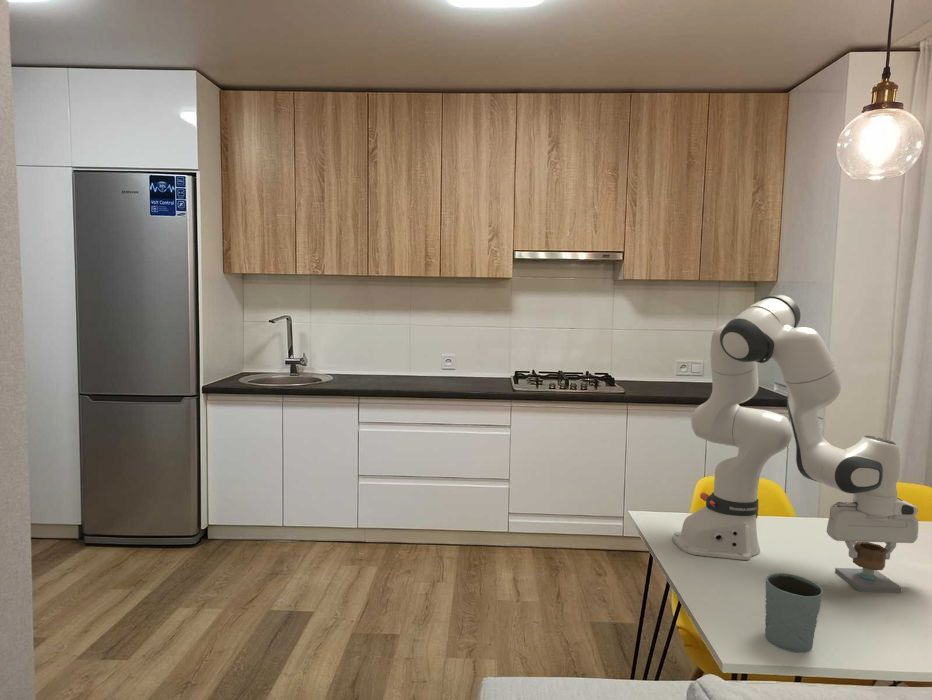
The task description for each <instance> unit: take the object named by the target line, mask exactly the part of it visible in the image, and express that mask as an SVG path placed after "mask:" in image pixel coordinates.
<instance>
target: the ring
mask: <svg viewBox="0 0 932 700" xmlns="http://www.w3.org/2000/svg"><path fill="white" fill-rule="evenodd" d="M853 546H854V549H855V550H856V551H858V552H859V555H858V556H859V558H852V563H854V564H855V565H857V566H858V567H859V568H866V569H869V570H877V571H883V570H884V569H885V567H886V560H887V559H886V549H885V547H884V546H882V545H880V544H877V543H875V542H859V541H856V545H853Z"/></svg>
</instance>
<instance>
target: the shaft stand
mask: <svg viewBox="0 0 932 700" xmlns="http://www.w3.org/2000/svg"><path fill="white" fill-rule="evenodd" d="M834 573H835V574H836V575H837V576H839V577H840V578H842V579H843V580H844V581H845V582H847V583H848V584H849V585H851V586H852V587H853V588H854V589H856V590H857V591H858V592H871V593H873V592H874V593H877V592H879V593H902V590H903V587H902V586H900V585H899V584H897V583H896V582H895V581H893V580H892V579H890V578H889V577H887V576H886V575H885V574H883V573H881V572H880V570H869V569H866V568H863V567H861V568H856V567H854V568H853V567H852V568H851V567H849V568H848V567H845V568H844V567H835V570H834Z"/></svg>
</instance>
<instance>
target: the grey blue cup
mask: <svg viewBox="0 0 932 700" xmlns="http://www.w3.org/2000/svg"><path fill="white" fill-rule="evenodd" d="M823 595H824V591H823V588H822V586H820V585H819V584H818V583H817V582H815V581H812V580H810V579H808V578H806V577H802V576H799V575H795V574H791V573H786V572H785V573H784V572H775V573H770V574H768V575H767V576H766V577H765V601H764V602H765V616H764V617H765V619H764V625H765V627H764V636H765V639H766V641H767V642H769V643H770V644H771V645H772V646H774V647H776V648H777V649H781V650H783V651H786V652H789V653H798V654H799V653H801V654H802V653H808V652H810V651H811V650H812V648H813V644H814V638H815V633H816V628H817V623H818V615H819V613H820V609H821V604H822V600H823Z"/></svg>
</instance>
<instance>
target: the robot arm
mask: <svg viewBox="0 0 932 700" xmlns="http://www.w3.org/2000/svg"><path fill="white" fill-rule="evenodd" d="M801 316H802V315H801V310H800V308H799V306H798V304H797V303H796V302H795V300H793V299H792V297H789V296H787V295H784V294H779V293H778V294H771V295H769V296H766V297H763V298H761V299H760V300H758V301H757V302H755V303H752V305H750V306H748V307H746V308H745V309H743V311H742V312H741V313H739V314H737V316H736V317H734V318H733V319H731V320H730V321H728V322H727V323H726V324H723V325H721V326H719V327H717V328H716V329H715V330H714V332H713V333H712V335H711V341H710V355H709V356H710V368H711V369H710V370H711V379H712V380H711V381H712V383H711V385H712V387H711V388H712V391H711V394H710V397H708V399H707V400H706V401H705V402H703V403H701V404H700V405H698V406H697V407H696V408H695V410H694V411H693V413H692V415H691V419H690V422H691V423H690V424H691V425H690V426H691V429H692V431H693V433H694V434H695V436H696V437H697V438H700V439H703V440H704V441H708V442H710V443H713V444H719V445H724V446H730V447H735V448H738V453H737V456H733V457H729V458H727V459H726V458H725V459H724V460H722V461H720V462H719V463H718V464H717V465H716V467H715V468H714V480H713V492H712V493H711V494H708V493H706V492H705V491H703V492H701V493H700V495H699V497H700V499H701V500H702V501H704V502H705V505H704V506H703V507H701V508H700V509H698V510H696V511H695V512H693V513H690V515H688V516H687V517H685V519H684V521H683V523H682V528H681V531H675V532H674V533H673V534H672V540H673V542H674V543H675V545H676V546H677V547H678V548H679V549H680V550H681V551H683V552H685V553H687V554H690V555H694V556H703V557H714V558H721V559H732V560H740V561H741V560H742V561H743V560H744V561H748V560H750V559H751V558H752V557H753V556H756V555H758V554H759V553H760V551H761V548H760V544H759V541H758V533H757V532H758V530H757V519H758V515H759V498H758V492H759V491H758V490H759V483H760V477H761V473H762V470H763V468H764V466H765V464H766V463H767V462H768V461H769V460H770V459H771V458H772V457H773V456H775V455H776V454H778V453H780V452H782V451H784V450H785V449H787V447H788V446H789V444H790V443H791V441H792V439H793V435H794V440H795V447H796V455H795V456H796V457H795V461H796V466H797V469H798V471H799V473H800V474H801V475H802V476H803V477H804V478H806V479H808V480H811V481H814V482H818V483H821V484H823V485H825V486H827V487H830V488H833V489H835V490H838V491H840V492H842V493H846V494H853V495H852V501H849V502H847V501H846V502H844V501H837V502H836V503H834V504H832V505H831V506H830V509H829V517H828V521H827V527H826V533H827V536H829V537H830V538H831V539H832V540H835V541H836V542H844V543H845V545H846V547H847V550H848V557H849V558H850V559H853V558H859V556H858V555H859V552H858V551H856V550H855V549H854V545H856V542H870V543H885V546H884V548H885V549H886V559H885V560H886V561H887V560H889V561H890V558H891V554H892V552H894V550H895V549H896V547H897V544H898V543H900V544H914V543H915V542H916V541H917V539H918V537H919V536H918V535H919V519H918V517H917V515H918V512H919V508H918V507H917V506H915V505H914V504H912V503H910V502H909V501H906V500H903V499H901V498H898V490H897V489H898V488H897V483H898V480H899V478H900V471H901V453H900V448H899V445H897V444H896V442H893V441H892V440H889V439H886V438H882V437H878V436H874V435H863V436H861V439H860V440H859V441H857V443H856V444H853V445H852V446H849V447H847V448H844V449H843V448H840V447H837V446H835V445H832V444H831V443H830V442H828V441H827V440H826V439H825V438H824V436H823V433H822V432H823V431H822V429H821V425H820V420H819V416H818V410H821V409H824V408H825V407H827V406H829V405H831V404H832V403H833V402H835V401H836V399H837V397H839V395H840V393H841V388H842V387H841V380H840V376H839V372H838V369H837V367H836V365H835V362H834V359H833V357H832V354H831V352H830V351H829V349H828V347H827V345H826V343H825V341H824V339H823V338H822V337H821V335H820V334H819V332H818V331H817V330H815V329H813V328H811V327H805V326H801V327H800V326H799V327H798V325H799V324H800V320H801ZM771 359H773V361H775V362H776V363H777V365H778V367H779V370H780V372H781V375H782V378H783V381H784V383H785V387H786V392H787V396H786V406H787V410H788V415H789V419H788V417H786V416H785V415H783V414H780V413H778V412H777V413H776V412H773V411H770V410H766V409H759V408H752V407H744V406H740V404H743V403H746V402H747V401H749V400H751V399H752V398H753V397H755V396H756V394H758V391H759V386H760V384H759V374H758V373H759V372H758V363H759V364H765V363H767V362H769V360H771Z"/></svg>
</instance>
